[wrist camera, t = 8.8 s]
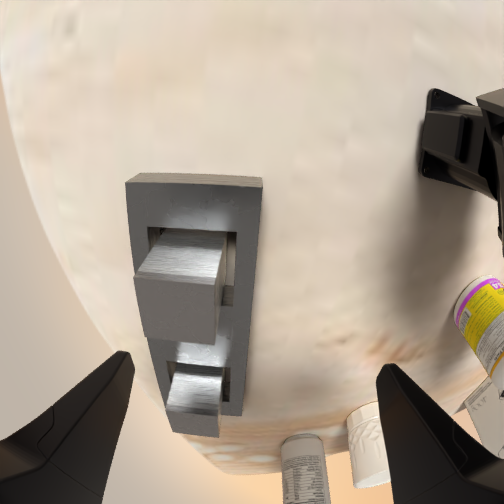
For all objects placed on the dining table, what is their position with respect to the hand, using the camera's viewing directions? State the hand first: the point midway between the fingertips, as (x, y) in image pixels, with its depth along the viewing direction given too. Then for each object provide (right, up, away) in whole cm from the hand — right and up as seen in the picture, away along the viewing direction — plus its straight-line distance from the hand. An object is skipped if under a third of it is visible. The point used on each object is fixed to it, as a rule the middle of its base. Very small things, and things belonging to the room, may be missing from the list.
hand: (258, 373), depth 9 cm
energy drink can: (+7, -23, +25) cm, 35 cm away
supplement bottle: (+23, -1, +14) cm, 26 cm away
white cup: (+15, -17, +22) cm, 32 cm away
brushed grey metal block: (-5, -7, +17) cm, 19 cm away
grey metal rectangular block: (-4, +4, +11) cm, 13 cm away
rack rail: (-4, -1, +14) cm, 15 cm away
